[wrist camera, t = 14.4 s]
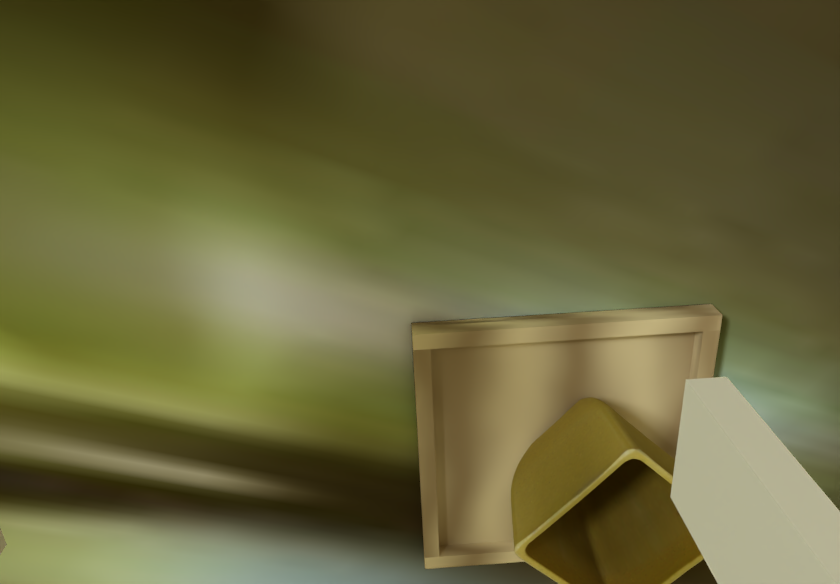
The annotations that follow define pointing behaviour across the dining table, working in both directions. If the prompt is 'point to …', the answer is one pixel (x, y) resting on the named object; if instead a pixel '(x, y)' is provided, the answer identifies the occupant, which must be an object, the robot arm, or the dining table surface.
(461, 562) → the holder tray
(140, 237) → the dining table surface
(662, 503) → the flower pot
